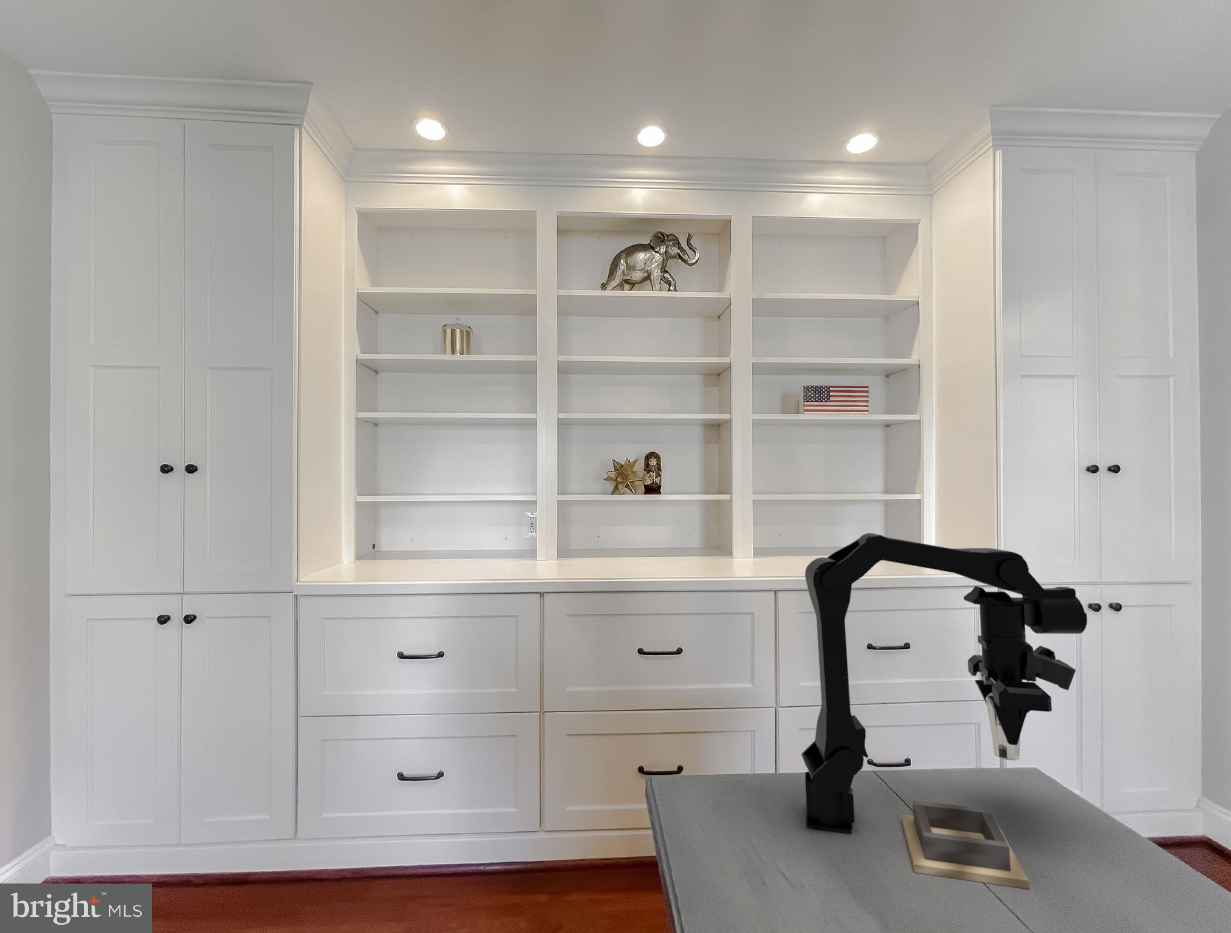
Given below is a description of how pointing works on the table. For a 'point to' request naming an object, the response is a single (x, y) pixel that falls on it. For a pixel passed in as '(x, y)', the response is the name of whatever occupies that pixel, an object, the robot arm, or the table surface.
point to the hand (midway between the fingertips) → (1008, 739)
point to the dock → (960, 844)
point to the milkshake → (1001, 737)
